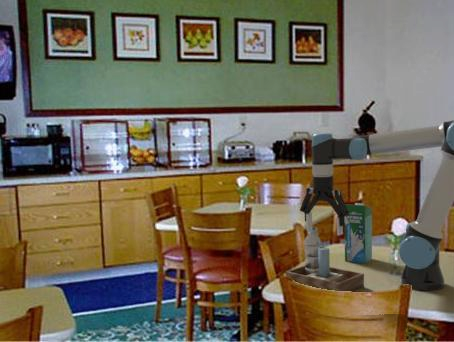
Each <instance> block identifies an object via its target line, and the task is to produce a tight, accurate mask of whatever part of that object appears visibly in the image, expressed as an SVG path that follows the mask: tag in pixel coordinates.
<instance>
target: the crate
mask: <svg viewBox="0 0 454 342" xmlns="http://www.w3.org/2000/svg"><path fill="white" fill-rule="evenodd" d="M304 271H305V264H304V265H302V266H299V267H296V268H292V269H289V270H287V271H285V277H286V276H288V277H290V278H292V279H293V280H294V281H295V282H298V283H300V284H304V285H308V286H312V287H316V288H321V289H327V290H335V291H353V292H355V291H358V290H361V289H362V288H365V273H362V272H357V271H351V270H346V269H341V268H337V267H333V266H332V267H331V266H330V277H328V278H322V277H319V271H317V272H315V273H312V274H309V275H305V273H304Z"/></svg>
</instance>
